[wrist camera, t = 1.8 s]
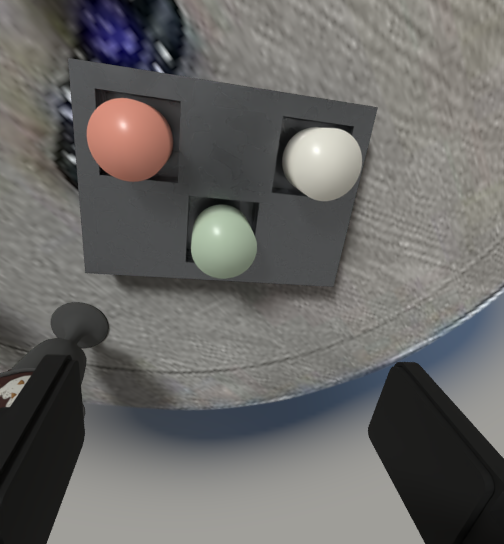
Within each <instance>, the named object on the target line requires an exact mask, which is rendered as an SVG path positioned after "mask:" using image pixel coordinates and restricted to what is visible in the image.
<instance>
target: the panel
mask: <svg viewBox="0 0 504 544" xmlns="http://www.w3.org/2000/svg"><path fill="white" fill-rule="evenodd" d="M68 63H69V76H70V88H71V101H72V113H73V125H74V138H75V150H76V163H77V175H78V188H79V200H80V212H81V225H82V237H83V250H84V262H85V273H95V274H113V275H131V276H149V277H167V278H185V279H203V280H222V281H240V282H258V283H276V284H294V285H312V286H330V287H333V286H334V282H335V278H336V273H337V269H338V265H339V261H340V257H341V253H342V249H343V245H344V241H345V237H346V233H347V229H348V225H349V221H350V217H351V213H352V209H353V205H354V201H355V197H356V193H357V189H358V185H359V181H360V177H361V173H362V169H363V165H364V161H365V157H366V153H367V149H368V145H369V141H370V137H371V133H372V128H373V124H374V120H375V116H376V112H377V108H378V107H372V106H366V105H360V104H354V103H347V102H341V101H335V100H328V99H322V98H316V97H310V96H303V95H297V94H291V93H285V92H278V91H272V90H266V89H259V88H253V87H247V86H241V85H234V84H228V83H222V82H215V81H209V80H203V79H197V78H190V77H184V76H178V75H172V74H165V73H159V72H153V71H146V70H140V69H134V68H128V67H121V66H115V65H109V64H102V63H96V62H90V61H84V60H77V59H71V58H68ZM116 98H128V99H133V100H136V101H139V102H142V103H145V104H148V105H150V106H152V107H154V108H155V109H157V110H158V111H159V112H160V113H161V114H162V115H163V116H164V117H165V119H166V120H167V122H168V124H169V126H170V128H171V131H172V135H173V149H172V153H171V155H170V157H169V159H168V161H167V162H166V163H165V165H164V166H163V167H162V168H161V169H160V170H159V171H158V172H157V173H156V174H155V175H154V176H152V177H150V178H148V179H146V180H142V181H136V182H130V181H124V180H120V179H118V178H115V177H113V176H111V175H110V174H108V173H107V172H106V171H104V170H103V169H102V168H101V167H100V166H99V165H98V164H97V162H96V161H95V159H94V158H93V156H92V154H91V152H90V149H89V146H88V142H87V126H88V122H89V119H90V117H91V115H92V114H93V112H94V111H95V110H96V109H97V107H99V106H100V105H101V104H103V103H104V102H106V101H109V100H111V99H116ZM311 127H319V128H337V129H341V130H343V131H346V132H347V133H349V134H350V135H351V136H353V138H354V139H355V140H356V141H357V143H358V145H359V147H360V150H361V154H362V167H361V172H360V175H359V177H358V179H357V181H356V183H355V184H354V186H353V187H352V188H351V189H350V190H349V191H348V192H347V193H346V194H344V195H343V196H341V197H340V198H337V199H335V200H331V201H318V200H314V199H312V198H310V197H308V196H307V195H305V194H304V193H303V192H301V191H300V190H298V189H297V188H296V187H294V186H293V185H292V184H291V183H290V182H289V181H288V180H287V178H286V177H285V174H284V171H283V167H282V157H283V152H284V149H285V147H286V145H287V143H288V142H289V140H290V139H291V138H292V137H293V136H294V135H295V134H296V133H298V132H299V131H301V130H303V129H306V128H311ZM220 204H222V205H229V206H232V207H235V208H236V209H238V210H239V211H241V212H242V213H243V214H244V215H245V217H246V218H247V220H248V222H249V224H250V227H251V229H252V231H253V233H254V235H255V238H256V242H257V252H256V256H255V259H254V261H253V263H252V264H251V266H250V267H249V268H248V269H247V270H246V271H245V272H243V273H242V274H240V275H238V276H236V277H233V278H227V279H220V278H214V277H211V276H209V275H207V274H205V273H204V272H202V271H201V270H200V269H199V268H198V267H197V265H196V264H195V262H194V260H193V257H192V253H191V242H192V231H193V225H194V222H195V220H196V218H197V217H198V215H199V214H200V213H201V212H202V211H203V210H205V209H206V208H208V207H211V206H214V205H220Z"/></svg>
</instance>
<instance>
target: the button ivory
mask: <svg viewBox="0 0 504 544" xmlns="http://www.w3.org/2000/svg"><path fill="white" fill-rule="evenodd" d="M282 167H283V171H284V174H285V177H286V178H287V180H288V181H289V182H290V183H291V184H292V185H293V186H294V187H296V188H297V189H298V190H300V191H301V192H303V193H304V194H305V195H307V196H308V197H310V198H312V199H314V200H318V201H331V200H335V199H337V198H340V197H341V196H343V195H344V194H346V193H347V192H348V191H349V190H350V189H351V188H352V187H353V186H354V184H355V183H356V181H357V179H358V177H359V175H360V172H361V167H362V154H361V150H360V147H359V145H358V143H357V141H356V140H355V139H354V138H353V136H351V135H350V134H349V133H347V132H346V131H343V130H341V129H337V128H319V127H311V128H306V129H303V130H301V131H299V132H298V133H296V134H295V135H294V136H293V137H292V138H291V139H290V140H289V142H288V143H287V145H286V147H285V149H284V152H283V157H282Z"/></svg>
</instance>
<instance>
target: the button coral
mask: <svg viewBox="0 0 504 544" xmlns="http://www.w3.org/2000/svg"><path fill="white" fill-rule="evenodd" d="M87 142H88V146H89V149H90V152H91V154H92V156H93V158H94V159H95V161H96V162H97V164H98V165H99V166H100V167H101V168H102V169H103V170H104V171H106V172H107V173H108V174H110V175H111V176H113V177H115V178H118V179H120V180H124V181H130V182H136V181H142V180H146V179H148V178H150V177H152V176H154V175H155V174H156V173H157V172H158V171H159V170H160V169H161V168H162V167H163V166H164V165H165V163H166V162H167V161H168V159H169V157H170V155H171V153H172V149H173V135H172V131H171V128H170V126H169V124H168V122H167V120H166V119H165V117H164V116H163V115H162V114H161V113H160V112H159V111H158V110H157V109H155V108H154V107H152V106H150V105H148V104H145V103H142V102H139V101H136V100H133V99H128V98H116V99H111V100H109V101H106V102H104V103H103V104H101V105H100V106H99V107H97V109H96V110H95V111H94V112H93V114H92V115H91V117H90V119H89V122H88V126H87Z"/></svg>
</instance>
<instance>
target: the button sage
mask: <svg viewBox="0 0 504 544" xmlns="http://www.w3.org/2000/svg"><path fill="white" fill-rule="evenodd" d="M256 252H257V242H256V238H255V235H254V233H253V231H252V229H251V227H250V224H249V222H248V220H247V218H246V217H245V215H244V214H243V213H242V212H241V211H239V210H238V209H236V208H235V207H232V206H229V205H222V204H220V205H214V206H211V207H208V208H206V209H205V210H203V211H202V212H201V213H200V214H199V215H198V217H197V218H196V220H195V222H194V225H193V231H192V242H191V253H192V257H193V260H194V262H195V264H196V265H197V267H198V268H199V269H200V270H201V271H202V272H204V273H205V274H207V275H209V276H211V277H214V278H220V279H227V278H233V277H236V276H238V275H240V274H242V273H243V272H245V271H246V270H247V269H248V268H249V267H250V266H251V264H252V263H253V261H254V259H255V256H256Z"/></svg>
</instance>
